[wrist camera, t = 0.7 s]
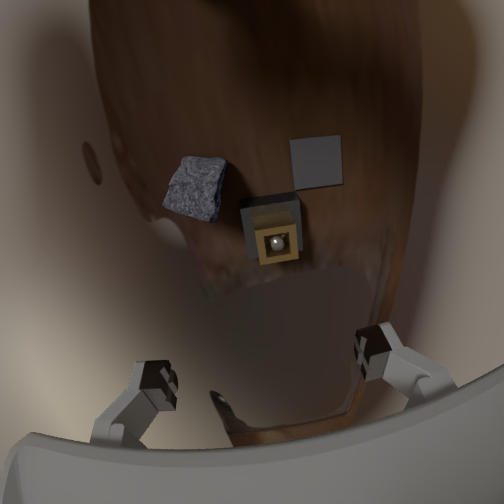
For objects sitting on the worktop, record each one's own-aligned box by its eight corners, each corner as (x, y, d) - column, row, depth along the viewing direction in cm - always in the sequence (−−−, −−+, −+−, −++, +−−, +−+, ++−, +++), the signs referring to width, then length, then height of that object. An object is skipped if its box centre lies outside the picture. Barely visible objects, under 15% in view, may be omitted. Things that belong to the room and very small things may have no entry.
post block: (238, 200, 52) (241, 222, 45) (294, 191, 52) (306, 211, 45) (247, 247, 58) (251, 275, 50) (298, 239, 58) (309, 265, 50)
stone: (239, 163, 51) (224, 218, 53) (186, 151, 50) (172, 204, 52) (233, 155, 39) (214, 226, 41) (166, 140, 39) (148, 208, 41)
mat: (288, 139, 47) (289, 140, 47) (339, 134, 47) (340, 135, 47) (294, 188, 52) (294, 189, 52) (341, 182, 52) (342, 183, 51)
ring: (252, 217, 50) (254, 230, 46) (289, 211, 50) (295, 224, 46) (257, 249, 53) (260, 265, 49) (292, 243, 53) (298, 258, 49)
